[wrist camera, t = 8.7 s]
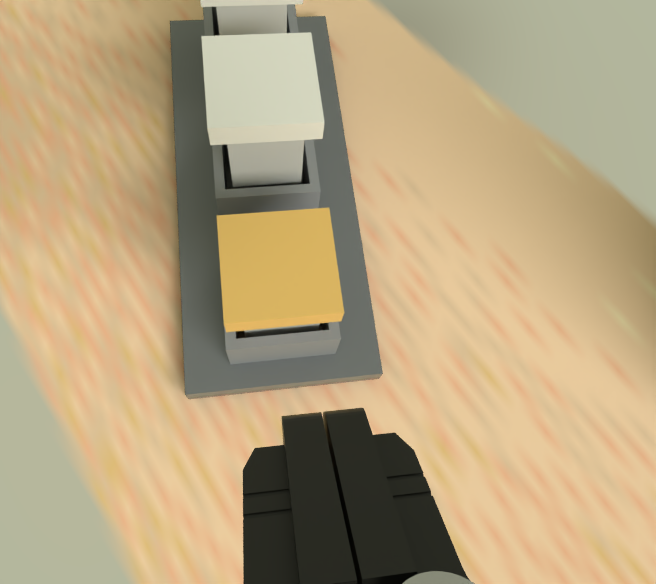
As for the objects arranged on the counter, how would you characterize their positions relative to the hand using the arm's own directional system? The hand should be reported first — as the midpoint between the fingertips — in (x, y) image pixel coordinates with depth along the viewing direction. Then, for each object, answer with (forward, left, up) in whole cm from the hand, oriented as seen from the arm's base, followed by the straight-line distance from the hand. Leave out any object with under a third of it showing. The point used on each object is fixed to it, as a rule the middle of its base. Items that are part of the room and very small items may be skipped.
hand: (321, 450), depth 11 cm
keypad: (-5, -16, -19) cm, 26 cm away
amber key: (-3, -9, -18) cm, 20 cm away
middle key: (-5, -16, -16) cm, 23 cm away
